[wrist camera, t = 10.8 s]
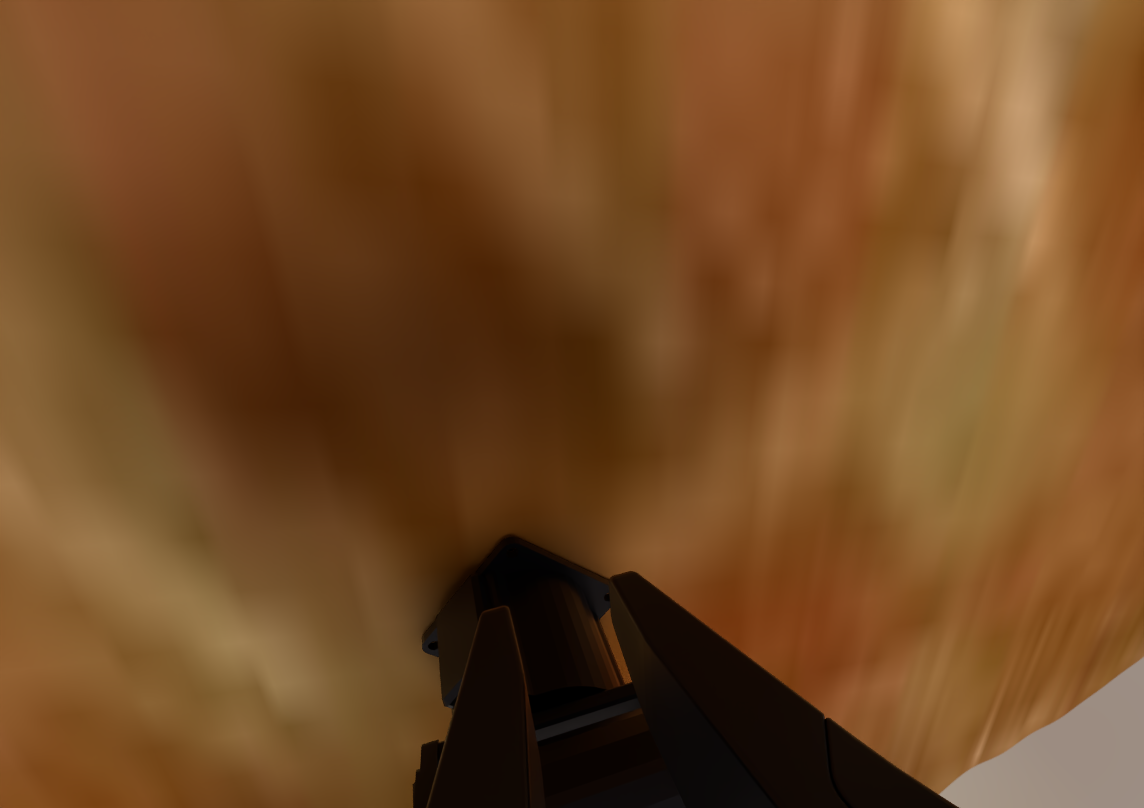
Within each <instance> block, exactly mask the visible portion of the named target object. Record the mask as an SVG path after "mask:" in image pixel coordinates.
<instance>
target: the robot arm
mask: <svg viewBox="0 0 1144 808" xmlns="http://www.w3.org/2000/svg"><path fill="white" fill-rule="evenodd" d="M511 548H516V549H515V550H514V551H511V552H509V551H508V550H509V549H511ZM607 593H609V594H607ZM609 609H611V617H612V622H613V626H614V629H615V632H616V635H617V638H618V641H619V644H620V647H621V650H622V653H623V656H624V659H625V662H626V665H627V668H628V671H629V674H630V677H631V680H632V682H630V683H627V684H625V683H624V680H623V678H622V675H621V673H620V670H619V668H618V665H617V663H616V660H615V658H614V655H613V653H612V650H611V648H610V645H609V643H608V640H607V638H606V635H605V633H604V630H603V628H602V625H601V623H600V620H599V619H600V618H601V617H602V616H603V615H604V614H605V613H606V612H607V611H608V610H609ZM433 641H437V642H434V643H433ZM422 649H423V651H424V652H425V653H427V654H430V655H433V656H437V657H439V665H440V678H441V692H442V700H443V703H444V706H446V707H449V708H452V718H451V722H450V725H449V729H448V732H447V736H446V740H445V741H442V742H439V740H435V741H432V742H429V743H426V744H423V745H422V747H421V764H420V769H418V770H416V780H415V783H414V784H413V808H959V807H957V806H955V805H954V804H952V803H951V802H949V801H948V800H946V799H945V798H943V797H941V796H940V795H938V794H937V793H935V792H934V791H932V790H931V789H929V788H928V787H926V786H925V785H923V784H922V783H920V782H919V781H917V780H916V779H914V778H913V777H911V776H910V775H908V774H906V773H905V772H903V771H902V770H900V769H899V768H897V767H896V766H894V765H893V764H892V763H890V762H889V761H887V760H886V759H885V758H883V757H882V756H881V755H879V754H878V753H876V752H875V751H874V750H872V749H871V748H869V747H868V746H867V745H865V744H864V743H863V742H861V741H860V740H858V739H857V738H856V737H854V736H853V735H852V734H850V733H849V732H848V731H846V730H845V729H844V728H842V727H841V726H840V725H838V724H837V723H836V722H834V721H833V720H832V719H830V718H826V719H825V717H824V714H823V713H822V712H821V711H819V710H818V709H817V708H815V707H814V706H813V705H811V704H810V703H809V702H808V701H806V700H805V699H804V698H802V697H801V696H800V695H798V694H797V693H796V692H794V691H793V690H792V689H790V688H789V687H788V686H786V685H785V684H784V683H782V682H781V681H780V680H778V679H777V678H776V677H774V676H773V675H772V674H770V673H769V672H768V671H766V670H765V669H764V668H762V667H761V666H760V665H758V664H757V663H756V662H754V661H753V660H752V659H751V658H749V657H748V656H747V655H745V654H744V653H743V652H741V651H740V650H739V649H737V648H736V647H735V646H733V645H732V644H731V643H729V642H728V641H727V640H725V639H724V638H723V637H721V636H720V635H719V634H717V633H716V632H715V631H713V630H712V629H711V628H709V627H708V626H707V625H705V624H704V623H703V622H701V621H700V620H699V619H697V618H696V617H695V616H693V615H692V614H691V613H690V612H688V611H687V610H686V609H684V608H683V607H682V606H680V605H679V604H678V603H676V602H675V601H674V600H672V599H671V598H670V597H668V596H667V595H666V594H664V593H663V592H662V591H660V590H659V589H658V588H656V587H655V586H654V585H652V584H651V583H650V582H648V581H647V580H646V579H644V578H643V577H642V576H640V575H639V574H638V573H636V572H634V571H629V572H625V573H622V574H618V575H614V576H612V577H611V578H610V579H609V581H608V580H606V579H604V578H602V577H600V576H598V575H596V574H594V573H591V572H589V571H587V570H585V569H583V568H581V567H579V566H577V565H574V564H572V563H570V562H568V561H566V560H564V559H562V558H560V557H557V556H555V555H553V554H551V553H549V552H547V551H545V550H543V549H541V548H538V547H536V546H534V545H532V544H530V543H528V542H526V541H524V540H521V539H519V538H516V537H508V538H506V539H504V540H503V541H502V542H501V543H500V544H499V545H498V546H497V547H496V549H495V550H494V551H493V552H492V553H491V555H490V556H489V557H488V558H487V559H486V561H485V562H484V563H483V564H482V565H481V567H480V568H479V569H478V570H477V571H476V573H475V574H473V575H472V576H470V577H469V578H468V579H467V580H466V581H465V583H464V584H463V585H462V586H461V587H460V589H459V590H458V591H457V592H456V593H455V595H454V596H453V597H452V598H451V599H450V601H449V602H448V603H447V604H446V605H445V607H444V608H443V609H442V610H441V611H440V613H439V614H438V615H437V617H436V621H435V622H434V623H433V624H432V625H431V627H430V628H429V629H428V630H427V631H426V633H425V634H424V635H423V637H422Z"/></svg>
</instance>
